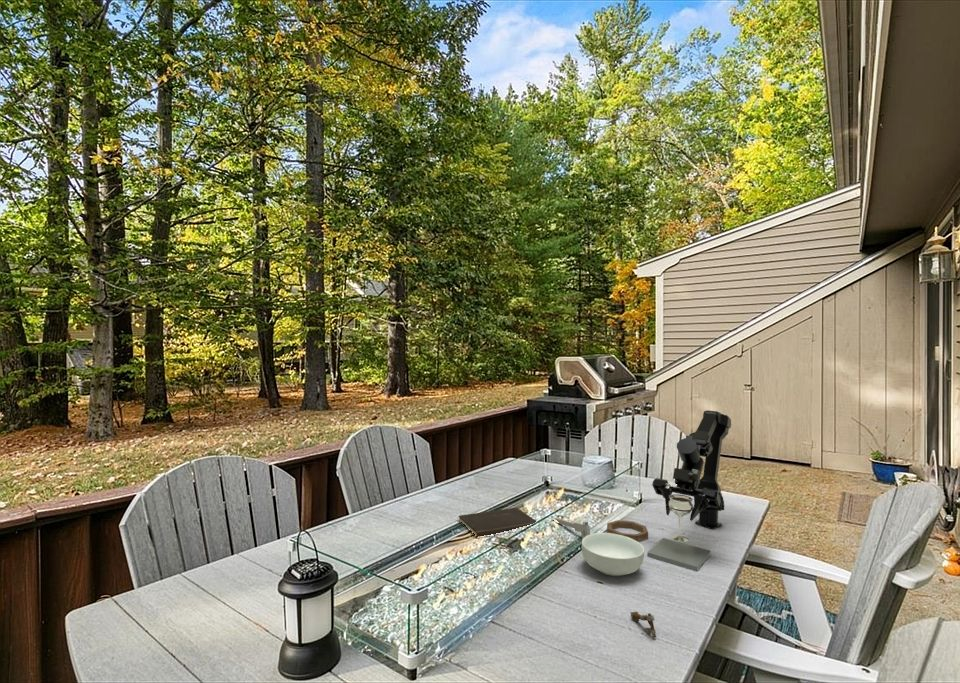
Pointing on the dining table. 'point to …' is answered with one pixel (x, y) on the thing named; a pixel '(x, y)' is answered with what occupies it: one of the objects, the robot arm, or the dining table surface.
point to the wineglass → (680, 511)
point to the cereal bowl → (612, 553)
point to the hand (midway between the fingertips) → (678, 517)
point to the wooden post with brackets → (649, 618)
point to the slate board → (679, 554)
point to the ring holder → (631, 525)
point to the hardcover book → (496, 521)
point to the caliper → (576, 526)
